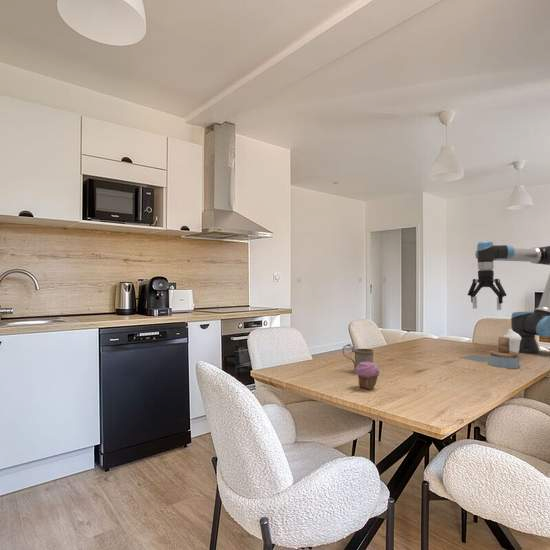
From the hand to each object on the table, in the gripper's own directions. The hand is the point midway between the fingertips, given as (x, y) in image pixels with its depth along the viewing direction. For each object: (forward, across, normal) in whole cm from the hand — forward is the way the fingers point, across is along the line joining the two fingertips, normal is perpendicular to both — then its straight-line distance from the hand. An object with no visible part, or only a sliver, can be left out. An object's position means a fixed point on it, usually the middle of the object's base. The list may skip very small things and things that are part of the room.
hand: (486, 309), depth 211 cm
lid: (+20, +18, -16) cm, 32 cm away
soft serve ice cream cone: (+26, +11, +4) cm, 28 cm away
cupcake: (+24, +14, -101) cm, 105 cm away
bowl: (+26, +18, -16) cm, 35 cm away
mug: (+24, -8, -85) cm, 89 cm away
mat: (+26, +2, -12) cm, 28 cm away
